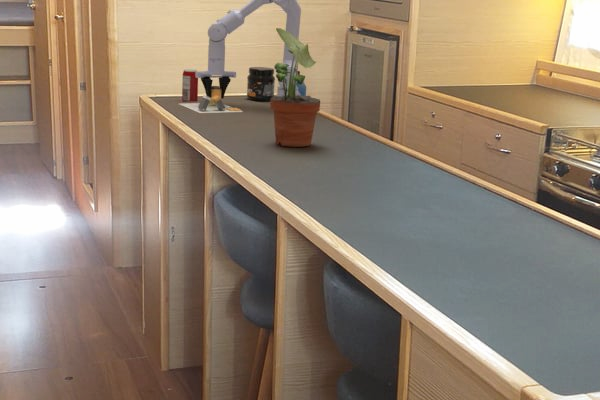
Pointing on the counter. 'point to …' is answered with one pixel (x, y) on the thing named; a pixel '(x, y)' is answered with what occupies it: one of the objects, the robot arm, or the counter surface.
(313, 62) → the potted plant
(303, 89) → the perfume bottle
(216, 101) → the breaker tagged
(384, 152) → the counter surface
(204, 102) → the breaker
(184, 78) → the soda can
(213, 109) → the panel
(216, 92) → the cap
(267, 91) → the supplement container
